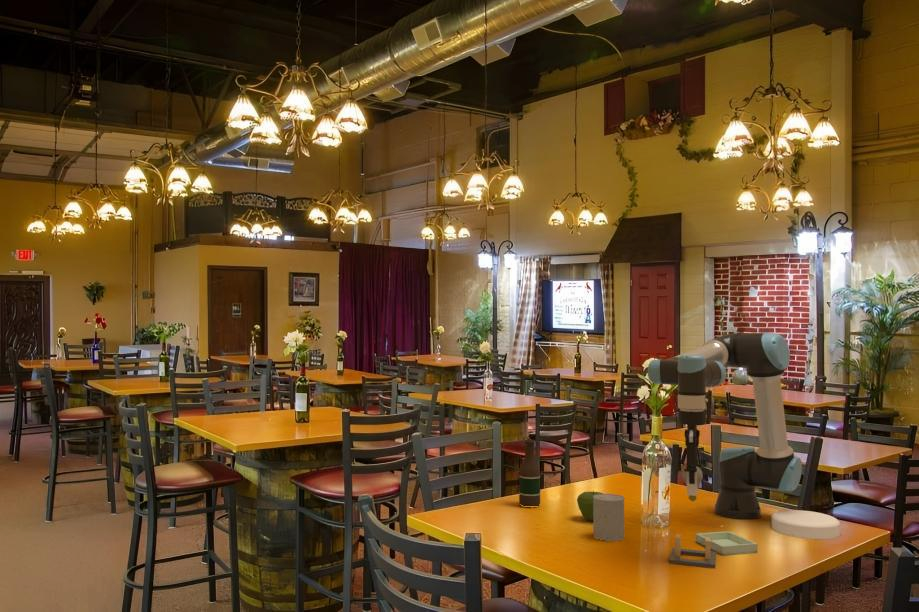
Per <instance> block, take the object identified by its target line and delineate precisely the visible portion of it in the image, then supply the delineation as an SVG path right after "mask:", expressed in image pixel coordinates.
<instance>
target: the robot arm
mask: <svg viewBox="0 0 919 612" xmlns="http://www.w3.org/2000/svg"><path fill="white" fill-rule="evenodd" d="M789 347H790V346H789V344H788V343H787V340H786V339H785V338H784V336H782V335H781V334H778V333H772V332H771V333H770V332H745V333H744V332H735V333H734V332H733V333H727V334H725V335H721V336H717V337H715V338H711V339H709V340H707V341H705V342H704V343H702V345H701V346H699V347H696V348H694V349H691V350H688V351H686V352H683V353H680V354H678V355H676V356H673V357H670V358H667V359H666V358H665V359H663V358H659V359H653V360H651V361H650V362H649V364H648V365H647V378H648V380H649V381H650V382H651V383H652V384H658V385H667V386H668V385H669V386H678V387H677V408H678V409H679V410H678V411H677V418H678V419H677V420H678V421H677V422H678V423H679V424H680V425H683V426H684V425H687V429H685V430H684V437H685V440H684V443H685V446H686V466H685V467H686V469H683V470H684V471H685V472H687V485H686V496H689V495H692V496H696V497H697V496H698V492H699V487H698V488H697V472H696V471H697V468H696V466H697V467H699V468H701V463H699V454H698V453H699V450H698V449H699V445H700V434H701V430H698V426H704V425H706V423H707V412H706V410H705V409H706V408H707V403H708V402H709V398H706V397H707V396H706V395H707V394H706V392H707V391H706V390H707V388H710V387H711V388H714V387H717V386H720V385H722V384H723V383H724V382H725V380H726V378H727V369H726V367H729V368H739V369H741V368H742V369H746V376H748V377H749V378H750V379H751V380H752V387H753V388H752V389H753V395H754V403H755V405H754V406H755V412H756V421H757V422H756V423H757V429H758V430H757V431H758V438H759V446H758V448H757V449H756V448H755V447H754V446H733V447H732V446H731V447H726V448H723V449H721V450H720V452H719V461H718V463H719V465H718V466H719V492H718V495H717V497H716V501H715V504H714V513H716V514H717V515H719V516H722V517H725V518H731V519H732V518H733V519H739V520H741V519H743V520H745V519H746V520H748V519H749V520H750V519H757V518H760V517H761V516H762V511H761V510H762V509H761V506H760V503H759V500H758V497H757V495H756V488H762V489H770V490H776V491H779V492H782V491H785V492H792V491H794V490H796V489H797V487H798V486H799V484H800V480H801V477H802V473H803V472H802V471H803V462H802V459H801V458H800V457H799V456H797V455H796V456H795V453H794V449H793V447H791V446H790V445H789V444H788V435H787V427H786V426H787V424H786V418H785V417H786V416H785V409H784V408H785V407H784V400H783V391H782V382H781V381H782V380H781V377H782V376H783V375H785V370H786V369H788V367H789V366H790V361H791V359H790V358H791V354H790V353H791V352H790V348H789Z"/></svg>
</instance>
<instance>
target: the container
mask: <svg viewBox="0 0 919 612" xmlns="http://www.w3.org/2000/svg"><path fill="white" fill-rule="evenodd" d="M771 529H772V530H773V531H774V532H777V533H779V534H781V535H784V536H789V537H793V538H799V539H805V540H806V539H807V540H833V539H837V538H840V536H841V521H839V519H837V518H836V517H835V516H832V515H829V514H826V513H822V512H816V511H810V510H799V509H785V510H783V509H782V510H778V511H775V512H774V513H773V514H772V515H771Z"/></svg>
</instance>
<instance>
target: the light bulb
mask: <svg viewBox="0 0 919 612" xmlns="http://www.w3.org/2000/svg"><path fill="white" fill-rule="evenodd" d="M686 467H687V466H685V467H684V469H686ZM696 468H697V471H696V472H697V488H698V489H699V486H700V485H701V483H702V481H703V477H704V476H703V474H704V473H703V471H702V469H701V467H697V466H696ZM684 469H683V470H682V480H683V481H684V483H685V484H686V486H687V472H685V471H684ZM688 500H690V501H691V502H695V501H696V500H697V496H692V495H688Z"/></svg>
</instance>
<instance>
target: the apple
mask: <svg viewBox="0 0 919 612" xmlns="http://www.w3.org/2000/svg"><path fill="white" fill-rule="evenodd" d="M597 494H605V492H604V493H603V492H600V491H594V490H592V491H584V492H581V493H580V494H578V496H577V499H576V501H577V506H578V508H579V511H580V514H581V516H582V517H583V518H584V519H586V521H588V520H590V522H593V496H594V495H597Z"/></svg>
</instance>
